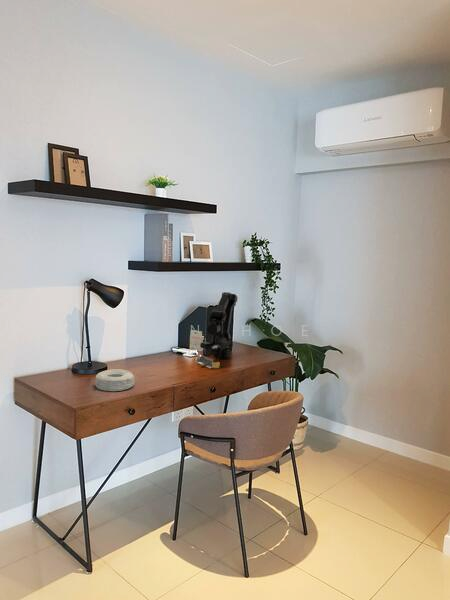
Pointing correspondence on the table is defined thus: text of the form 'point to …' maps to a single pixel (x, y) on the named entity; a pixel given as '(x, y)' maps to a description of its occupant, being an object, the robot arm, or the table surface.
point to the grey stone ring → (114, 380)
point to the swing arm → (208, 361)
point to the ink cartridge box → (196, 341)
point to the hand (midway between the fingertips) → (216, 359)
